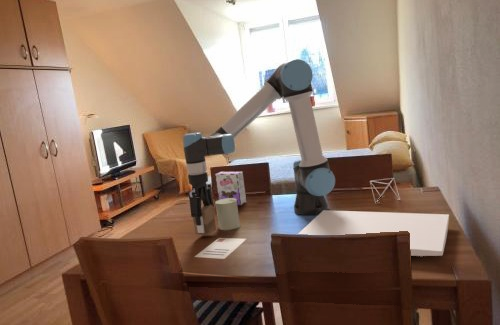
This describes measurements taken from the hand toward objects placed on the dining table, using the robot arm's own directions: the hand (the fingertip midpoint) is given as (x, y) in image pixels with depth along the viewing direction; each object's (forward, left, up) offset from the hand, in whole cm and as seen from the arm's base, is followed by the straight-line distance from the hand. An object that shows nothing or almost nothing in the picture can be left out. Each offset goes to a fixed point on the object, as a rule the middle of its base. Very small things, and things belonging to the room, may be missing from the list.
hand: (205, 229), depth 155 cm
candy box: (+12, -47, -3) cm, 49 cm away
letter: (-12, +10, -3) cm, 16 cm away
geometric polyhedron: (-63, -51, -4) cm, 81 cm away
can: (-4, -12, -3) cm, 13 cm away
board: (-63, -4, -4) cm, 63 cm away
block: (0, 0, -1) cm, 1 cm away
